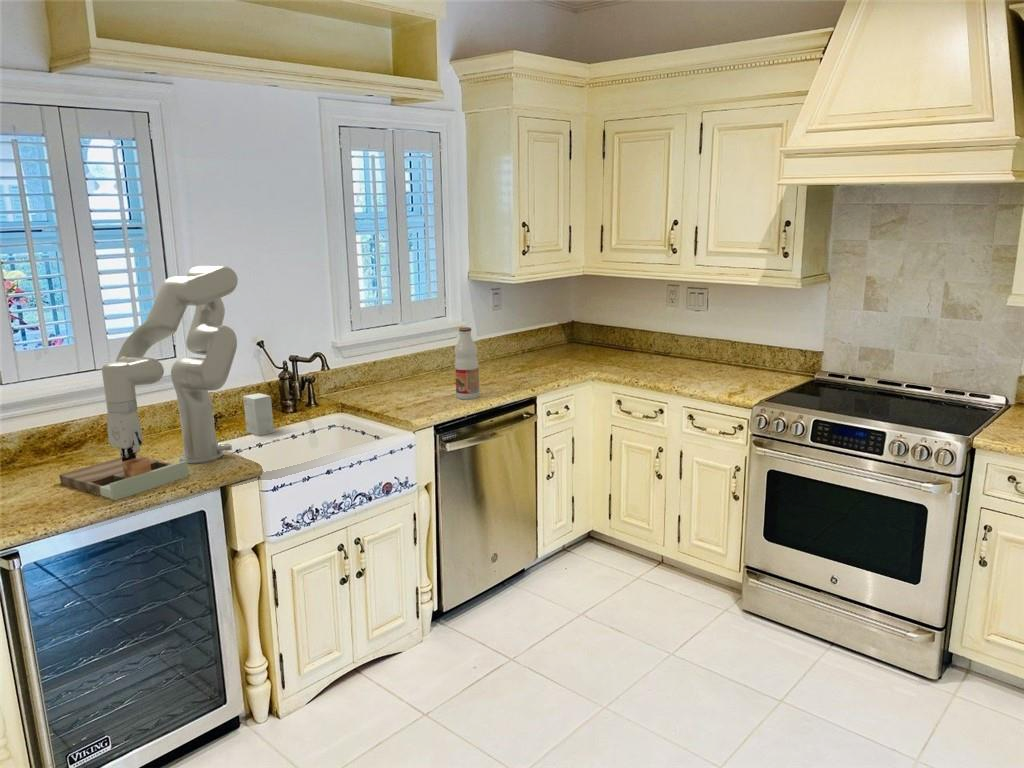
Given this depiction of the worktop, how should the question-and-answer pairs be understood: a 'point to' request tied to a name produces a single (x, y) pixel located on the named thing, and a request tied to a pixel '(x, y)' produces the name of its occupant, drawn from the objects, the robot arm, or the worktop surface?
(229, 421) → the worktop surface
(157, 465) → the track
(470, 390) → the fruit juice
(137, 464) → the block
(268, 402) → the small box
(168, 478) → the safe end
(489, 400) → the worktop surface
